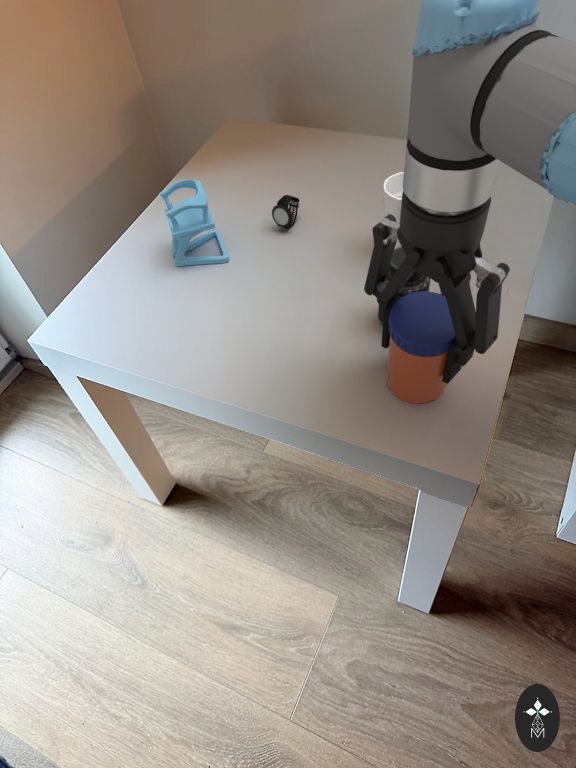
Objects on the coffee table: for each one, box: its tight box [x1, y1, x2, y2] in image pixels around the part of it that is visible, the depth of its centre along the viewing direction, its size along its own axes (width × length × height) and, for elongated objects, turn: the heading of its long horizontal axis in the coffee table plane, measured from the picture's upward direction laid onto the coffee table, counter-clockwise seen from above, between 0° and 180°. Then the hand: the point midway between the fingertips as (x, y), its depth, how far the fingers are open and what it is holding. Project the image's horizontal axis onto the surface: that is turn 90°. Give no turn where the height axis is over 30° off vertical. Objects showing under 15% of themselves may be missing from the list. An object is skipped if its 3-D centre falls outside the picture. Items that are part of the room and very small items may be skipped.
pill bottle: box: [379, 246, 431, 327], centre depth 69 cm, size 6×6×11 cm
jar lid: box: [388, 291, 456, 356], centre depth 60 cm, size 8×8×2 cm
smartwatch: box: [271, 194, 301, 230], centre depth 86 cm, size 4×5×5 cm
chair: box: [158, 179, 230, 267], centre depth 82 cm, size 8×8×12 cm
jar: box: [385, 336, 449, 404], centre depth 64 cm, size 8×8×11 cm
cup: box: [383, 171, 404, 249], centre depth 78 cm, size 7×7×11 cm
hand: (419, 357), depth 64 cm, fingers closed on jar lid, 8 cm apart
